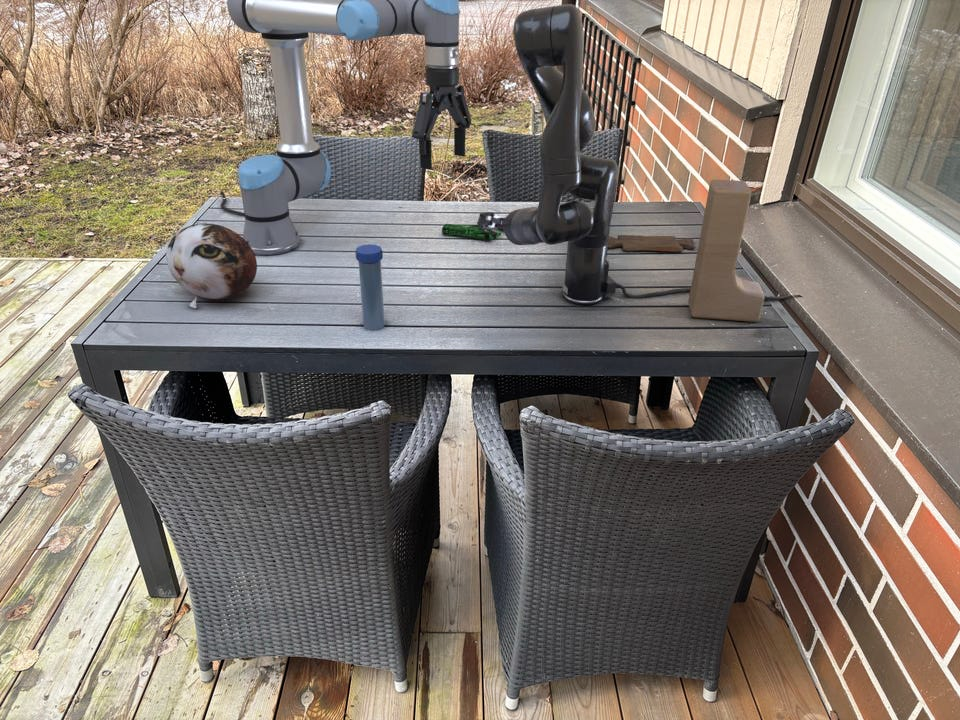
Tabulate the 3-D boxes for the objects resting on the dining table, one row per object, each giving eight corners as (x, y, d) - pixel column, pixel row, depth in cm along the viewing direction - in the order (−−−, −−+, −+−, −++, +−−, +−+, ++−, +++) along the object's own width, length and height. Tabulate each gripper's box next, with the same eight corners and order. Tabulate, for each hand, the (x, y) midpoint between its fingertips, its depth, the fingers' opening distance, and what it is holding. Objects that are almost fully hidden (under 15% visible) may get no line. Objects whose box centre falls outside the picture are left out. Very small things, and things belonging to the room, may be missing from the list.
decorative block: (759, 323, 161) (790, 192, 145) (691, 318, 162) (715, 188, 147) (752, 308, 167) (782, 182, 152) (687, 303, 169) (710, 178, 153)
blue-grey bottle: (360, 322, 159) (354, 248, 150) (381, 318, 160) (376, 245, 151) (366, 331, 155) (361, 256, 146) (387, 327, 157) (383, 253, 148)
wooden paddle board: (698, 254, 196) (690, 241, 205) (699, 248, 195) (691, 235, 204) (604, 251, 196) (600, 238, 205) (605, 245, 195) (601, 232, 204)
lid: (353, 255, 151) (352, 246, 150) (378, 251, 153) (377, 242, 152) (360, 265, 146) (359, 255, 145) (386, 261, 148) (385, 251, 147)
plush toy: (130, 285, 161) (164, 203, 163) (192, 308, 177) (221, 233, 178) (195, 307, 151) (229, 220, 152) (254, 330, 166) (285, 250, 168)
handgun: (511, 219, 210) (493, 234, 198) (511, 228, 211) (492, 244, 199) (461, 212, 215) (440, 226, 203) (461, 221, 217) (440, 236, 204)
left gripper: (421, 75, 148) (424, 176, 159) (486, 61, 166) (485, 153, 177) (393, 71, 151) (397, 171, 162) (460, 58, 169) (460, 148, 180)
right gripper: (562, 219, 150) (530, 223, 165) (502, 197, 144) (475, 203, 160) (553, 254, 150) (522, 254, 165) (492, 233, 145) (466, 236, 160)
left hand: (443, 161), depth 169 cm, fingers open, 13 cm apart
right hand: (499, 229), depth 162 cm, fingers open, 8 cm apart
